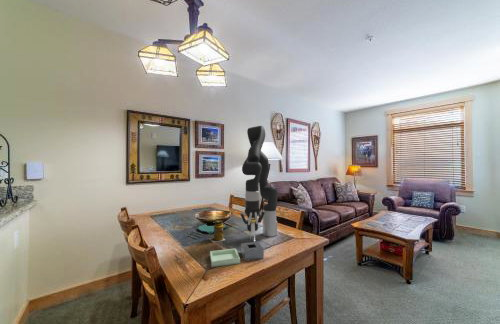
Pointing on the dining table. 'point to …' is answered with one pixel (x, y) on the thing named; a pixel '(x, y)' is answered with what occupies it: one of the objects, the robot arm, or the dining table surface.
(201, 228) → the cutlery set
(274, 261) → the dining table surface
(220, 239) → the condiment
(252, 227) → the pin
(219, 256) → the tray
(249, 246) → the socket block
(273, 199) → the robot arm
